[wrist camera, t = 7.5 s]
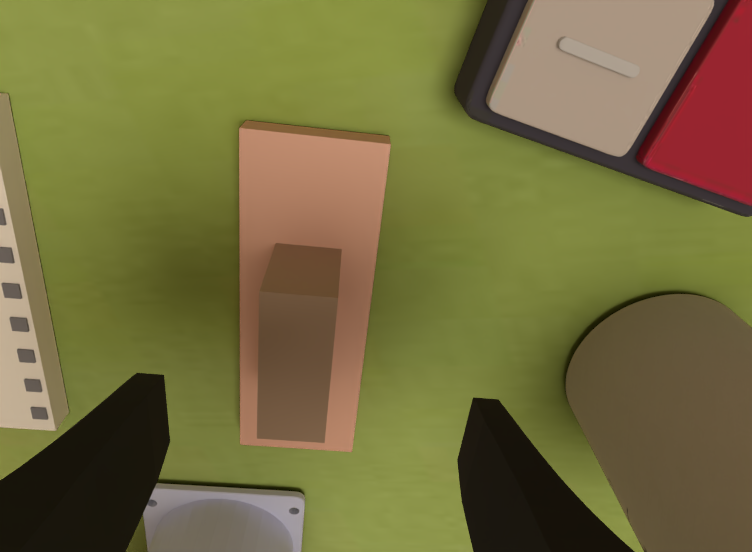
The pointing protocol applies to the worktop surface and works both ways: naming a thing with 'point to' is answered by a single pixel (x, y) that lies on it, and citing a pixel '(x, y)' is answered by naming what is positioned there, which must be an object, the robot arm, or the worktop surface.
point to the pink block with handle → (306, 279)
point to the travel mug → (672, 420)
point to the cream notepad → (24, 304)
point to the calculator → (624, 87)
